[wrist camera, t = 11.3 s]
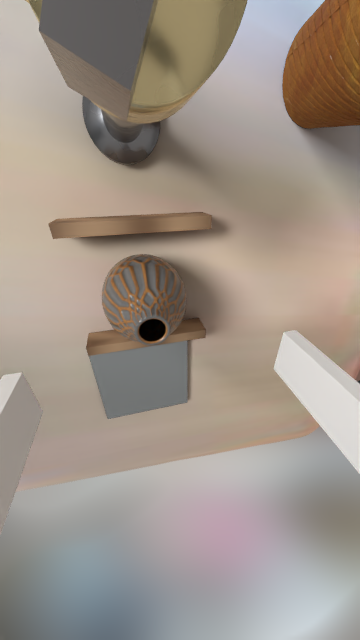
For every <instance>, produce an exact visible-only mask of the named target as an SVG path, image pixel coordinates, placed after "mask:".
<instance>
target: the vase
mask: <svg viewBox="0 0 360 640" xmlns="http://www.w3.org/2000/svg"><path fill="white" fill-rule="evenodd" d="M102 305H103V309H104V312H105V315H106V317H107V319H108V321H109V322H110V324H111V325H112V327H113V328H114V329H115V330H116V331H117V332H118V333H119V334H121V335H122V336H124V337H125V338H127V339H130V340H132V341H136V342H140V343H142V344H144V345H149V346H152V345H158V344H160V343H162V342H163V341H165V340H166V339H167V338H168V336H169V335H170V334H171V333H172V332H174V331H175V330H176V328H177V327H178V326H179V324H180V323H181V321H182V319H183V317H184V314H185V309H186V291H185V287H184V284H183V282H182V280H181V278H180V276H179V274H178V273H177V272H176V270H175V269H174V268H173V267H172V266H171V265H170V264H169V263H167V262H166V261H164V260H162V259H161V258H158V257H155V256H152V255H146V254H139V255H133V256H130V257H127V258H125V259H123V260H121V261H120V262H118V263H117V264H116V265H115V266H114V267H113V268H112V269H111V270H110V272H109V273H108V275H107V277H106V279H105V282H104V285H103V290H102Z"/></svg>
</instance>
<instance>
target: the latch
mask: <svg viewBox="0 0 360 640" xmlns="http://www.w3.org/2000/svg"><path fill="white" fill-rule="evenodd" d="M25 1H27V2H28V3H30V5H31V7H32V9H33V11H34V13H35V15H36V17H37V19H38V21H39V23H40V25H39V32H40V33H41V35H42V37H43V39H44V41H45V43H46V45H47V47H48V49H49V51H50V53H51V55H52V57H53V58H54V60H55V62H56V64H57V66H58V68H59V70H60V72H61V74H62V76H63V78H64V80H65V82H66V83H67V85H68V87H70V88H71V89H73V90H75V91H76V92H78V93H80V94H81V95H83V96H85V97H86V98H88V99H89V100H90V101H92V102H93V103H94V104H95V105H96V106H98V107H99V108H100V109H102V110H103V111H105V112H106V113H108V114H110V115H112V116H114V117H116V118H118V119H121V120H124V121H126V122H132V123H153V122H158V121H161V120H163V119H166V118H168V117H170V116H171V115H173V114H175V113H176V112H177V111H179V110H180V109H181V108H182V107H183V106H184V105H185V104H186V103H187V102H188V101H189V100H190V99H191V98H192V97H193V95H194V94H195V93H196V92H197V91H198V90H199V88H200V87H201V86H202V85H203V84H204V83H205V81H206V80H207V79H208V78H209V77H210V76H211V74H212V73H213V72H214V71H215V69H216V68H217V67H218V65H219V64H220V62H221V61H222V60H223V58H224V56H225V55H226V53H227V51H228V49H229V48H230V46H231V44H232V42H233V40H234V37H235V35H236V33H237V30H238V28H239V26H240V23H241V20H242V17H243V14H244V10H245V7H246V4H247V0H25Z"/></svg>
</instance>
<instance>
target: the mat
mask: <svg viewBox="0 0 360 640" xmlns="http://www.w3.org/2000/svg"><path fill="white" fill-rule="evenodd" d="M89 358H90V361H91V365H92V368H93V371H94V375H95V378H96V381H97V385H98V388H99V391H100V395H101V398H102V401H103V405H104V408H105V411H106V414H107V418H108V419H111V418H116V417H120V416H125V415H130V414H135V413H139V412H144V411H149V410H154V409H158V408H163V407H168V406H173V405H177V404H182V403H187V341H180V342H174V343H168V344H161V345H155V346H149V347H142V348H136V349H129V350H123V351H117V352H110V353H104V354H98V355H91V356H89Z"/></svg>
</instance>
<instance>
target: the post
mask: <svg viewBox="0 0 360 640" xmlns="http://www.w3.org/2000/svg"><path fill="white" fill-rule="evenodd" d="M83 116H84V121H85V125H86V128H87V130H88V133H89V135H90V137H91V139H92V140H93V142H94V144H95V145H96V146H97V148H98V149H99V150H100V151H101V152H102V153H103V154H104V155H105V156H106V157H108V158H109V159H110V160H112V161H114V162H117V163H120V164H126V165H129V164H135V163H138V162H140V161H142V160H143V159H145V158H146V157H147V156H148V155H149V154H150V153H151V152H152V150H153V148H154V147H155V145H156V143H157V140H158V136H159V131H160V121H158V122H153V123H132V122H126V121H124V120H121V119H118V118H116V117H114V116H112V115H110V114H108V113H106V112H105V111H103V110H102V109H100V108H99V107H98V106H96V105H95V104H94V103H93V102H92V101H90V100H89V99H88V98H86V97H85V96H83Z"/></svg>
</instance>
